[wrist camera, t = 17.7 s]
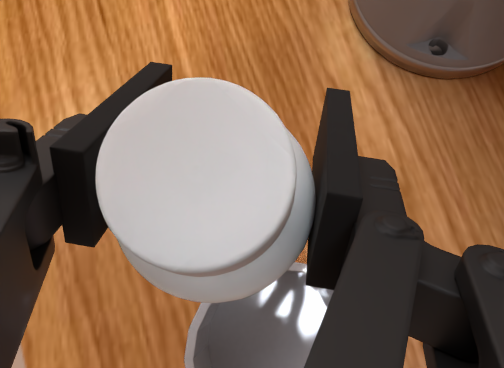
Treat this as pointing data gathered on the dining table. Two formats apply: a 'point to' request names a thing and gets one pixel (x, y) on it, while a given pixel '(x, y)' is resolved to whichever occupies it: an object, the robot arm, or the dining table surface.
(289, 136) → the supplement bottle
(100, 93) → the dining table surface
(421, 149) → the dining table surface
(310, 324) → the steel cup
